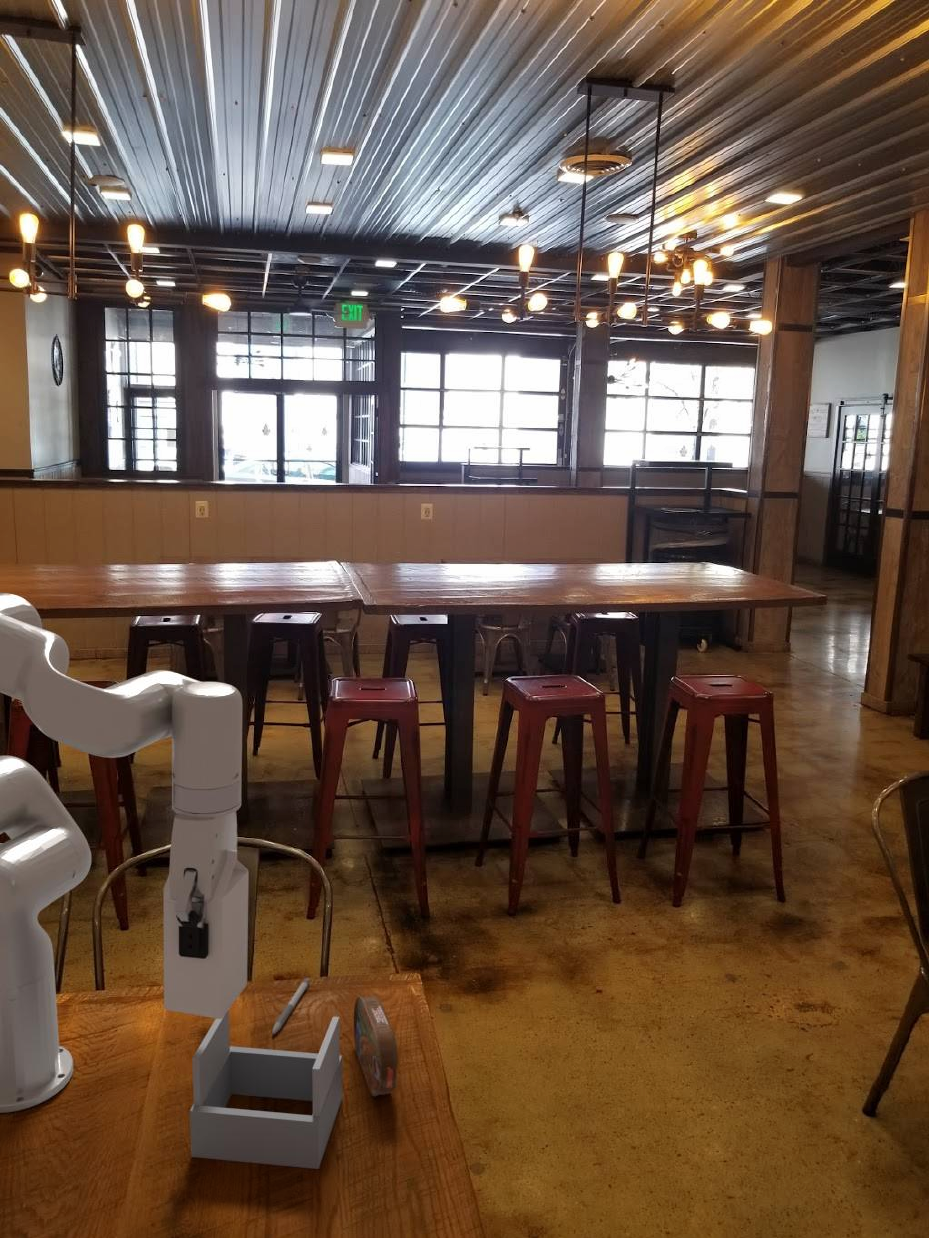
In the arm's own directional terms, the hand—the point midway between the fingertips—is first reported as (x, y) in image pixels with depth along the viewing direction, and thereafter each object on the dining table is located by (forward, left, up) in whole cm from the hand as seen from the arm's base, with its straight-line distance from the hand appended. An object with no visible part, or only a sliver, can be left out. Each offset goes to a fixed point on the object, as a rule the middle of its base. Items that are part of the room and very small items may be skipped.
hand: (206, 936), depth 111 cm
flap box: (+7, +1, -25) cm, 26 cm away
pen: (+3, +25, -26) cm, 36 cm away
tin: (+17, +13, -25) cm, 33 cm away
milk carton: (0, 0, -8) cm, 8 cm away
